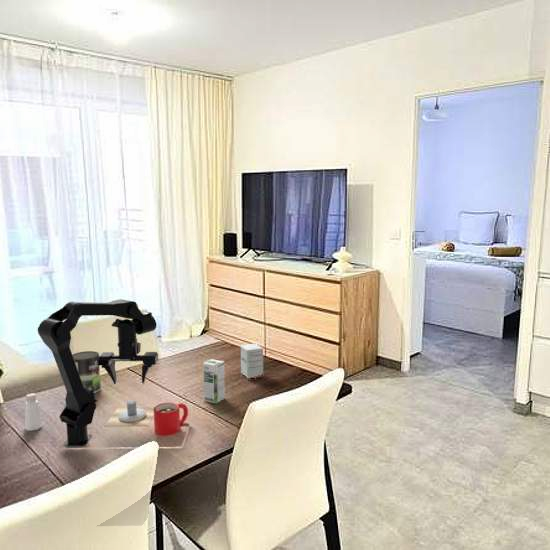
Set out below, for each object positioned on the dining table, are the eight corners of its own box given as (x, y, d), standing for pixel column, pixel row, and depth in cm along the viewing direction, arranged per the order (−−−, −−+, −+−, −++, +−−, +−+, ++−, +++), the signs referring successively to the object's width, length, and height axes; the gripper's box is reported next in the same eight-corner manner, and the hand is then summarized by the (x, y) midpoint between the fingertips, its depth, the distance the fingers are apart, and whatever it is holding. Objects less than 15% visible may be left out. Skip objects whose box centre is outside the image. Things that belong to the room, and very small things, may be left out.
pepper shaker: (38, 421, 159) (35, 389, 157) (46, 426, 155) (43, 394, 153) (21, 427, 154) (18, 395, 153) (28, 432, 151) (26, 399, 149)
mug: (195, 425, 156) (194, 402, 154) (164, 439, 147) (163, 415, 145) (179, 418, 161) (179, 396, 159) (149, 431, 152) (148, 408, 150)
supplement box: (240, 374, 201) (240, 345, 199) (256, 371, 204) (256, 342, 202) (247, 380, 195) (246, 350, 193) (263, 377, 198) (263, 347, 196)
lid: (142, 422, 157) (141, 408, 156) (114, 422, 157) (113, 408, 156) (149, 410, 166) (148, 397, 165) (122, 410, 166) (121, 397, 165)
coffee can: (106, 386, 189) (104, 351, 186) (91, 396, 179) (89, 360, 176) (82, 384, 191) (80, 350, 188) (66, 394, 181) (63, 358, 178)
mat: (148, 427, 154) (148, 425, 154) (104, 427, 154) (104, 426, 154) (158, 408, 168) (157, 407, 168) (117, 408, 168) (117, 407, 168)
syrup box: (203, 401, 174) (202, 363, 172) (212, 395, 179) (211, 358, 177) (216, 404, 172) (215, 365, 169) (225, 398, 177) (224, 360, 175)
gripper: (160, 331, 166) (162, 374, 168) (106, 331, 165) (108, 375, 167) (154, 340, 155) (155, 386, 157) (95, 340, 154) (97, 387, 156)
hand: (129, 383), depth 160 cm, fingers open, 9 cm apart
